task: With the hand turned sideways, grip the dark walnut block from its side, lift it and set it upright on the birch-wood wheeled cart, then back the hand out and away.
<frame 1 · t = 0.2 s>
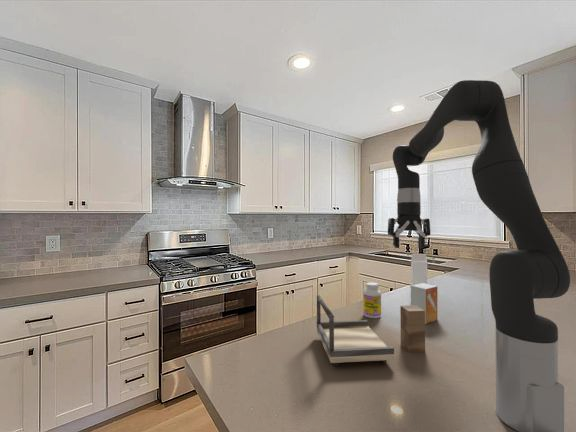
hand: (408, 248, 99), 28 cm above the countertop, tool pointing down, fingers open, 8 cm apart
walnut block: (412, 347, 85), on the countertop
supplement bottle: (372, 316, 112), on the countertop
milk: (419, 302, 129), on the countertop
small box: (424, 320, 107), on the countertop
cart: (351, 350, 84), on the countertop
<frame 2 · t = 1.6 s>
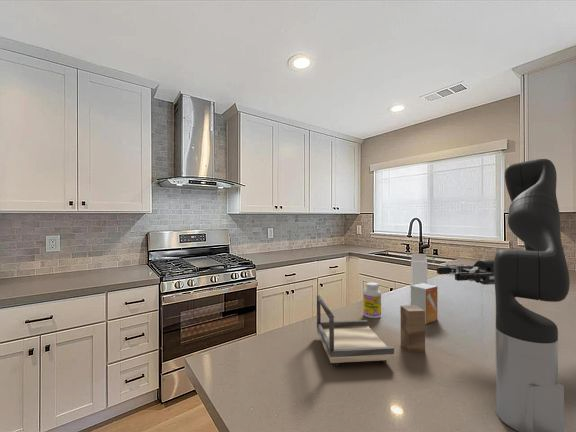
hand: (446, 273, 86), 22 cm above the countertop, tool horizontal, fingers open, 8 cm apart
nothing on the countertop moved.
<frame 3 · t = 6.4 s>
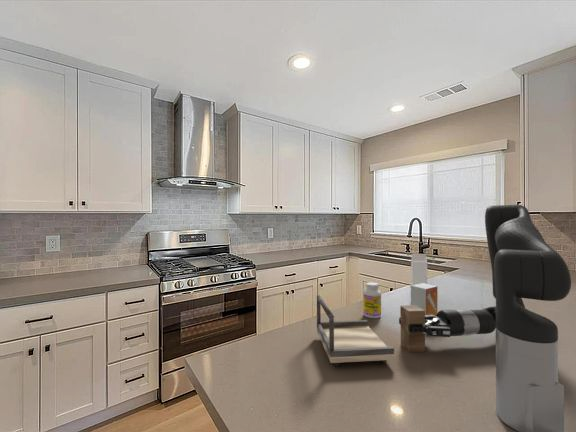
hand: (404, 324, 85), 7 cm above the countertop, tool horizontal, fingers closed on walnut block, 5 cm apart
walnut block: (412, 347, 85), on the countertop, touching gripper
everything else where it was.
when the fingers open (12 cm above the countertop, at t = 12.3 s): walnut block drops 1 cm, resting on cart.
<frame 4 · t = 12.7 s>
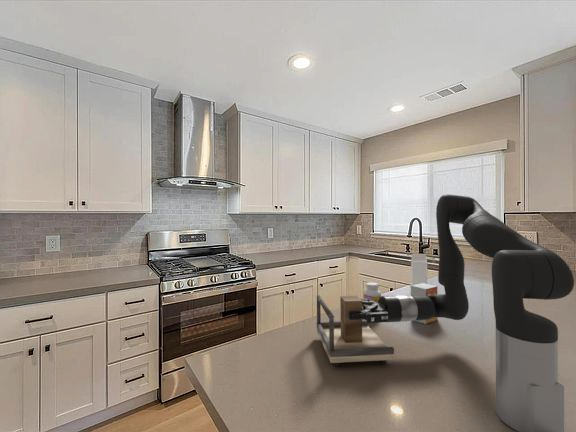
hand: (344, 310, 83), 12 cm above the countertop, tool horizontal, fingers open, 8 cm apart
walnut block: (351, 338, 84), point 3 cm above the countertop, touching cart
everything else where it was.
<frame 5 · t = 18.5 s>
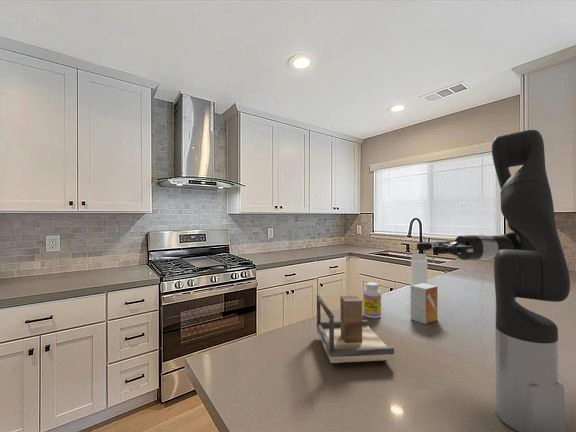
hand: (425, 248, 85), 30 cm above the countertop, tool horizontal, fingers open, 8 cm apart
nothing on the countertop moved.
at the end: walnut block inside the target area on the cart (0.3 cm from its centre), point 3.5 cm above the cart's base; walnut block tilted 0°; the gripper is holding nothing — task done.
